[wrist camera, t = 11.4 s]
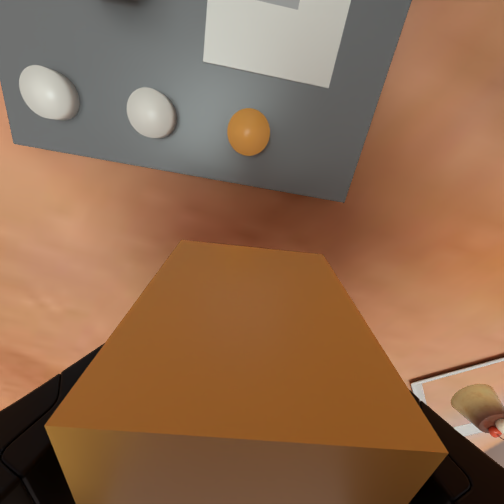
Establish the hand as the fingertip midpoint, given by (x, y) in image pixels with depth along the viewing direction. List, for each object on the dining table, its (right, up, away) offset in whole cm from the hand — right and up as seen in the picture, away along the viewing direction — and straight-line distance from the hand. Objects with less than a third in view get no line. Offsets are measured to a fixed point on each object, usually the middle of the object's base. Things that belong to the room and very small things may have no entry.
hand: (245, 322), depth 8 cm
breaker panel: (-3, +14, +5) cm, 16 cm away
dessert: (+25, -13, +19) cm, 34 cm away
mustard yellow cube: (0, 0, +1) cm, 1 cm away
